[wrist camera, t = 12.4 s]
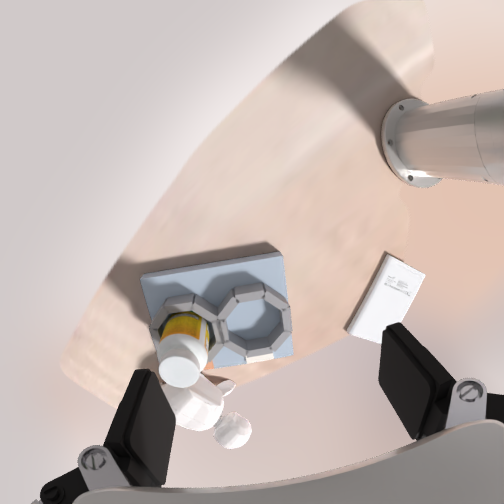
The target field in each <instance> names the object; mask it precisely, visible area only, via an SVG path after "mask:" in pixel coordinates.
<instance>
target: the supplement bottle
mask: <svg viewBox="0 0 504 504" xmlns="http://www.w3.org/2000/svg"><path fill="white" fill-rule="evenodd" d="M209 330H210V329H209V323H208V321H207V320H206V319H205V318H203V317H201V316H200V315H198V314H197V313H195V312H193V311H192V310H191V311H184V312H177V313H172V314H171V315H170V316H169V318H168V320H167V322H166V325H165V328H164V331H163V334H162V337H161V339H160V343H159V346H158V349H157V358H158V361H159V363H160V364H159V374H160V376H161V378H162V379H163V380H164V381H165V382H166V383H167V384H169V385H171V386H174V387H179V388H184V387H189V386H191V385H193V384H195V383H196V382H197V380H198V378H199V374H200V372H201V371H202V370H203V369H204V368H205V366H206V364H207V359H208V346H209Z"/></svg>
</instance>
